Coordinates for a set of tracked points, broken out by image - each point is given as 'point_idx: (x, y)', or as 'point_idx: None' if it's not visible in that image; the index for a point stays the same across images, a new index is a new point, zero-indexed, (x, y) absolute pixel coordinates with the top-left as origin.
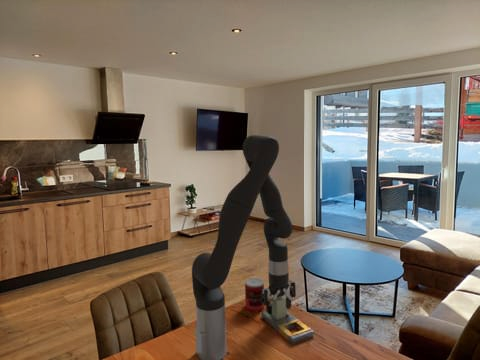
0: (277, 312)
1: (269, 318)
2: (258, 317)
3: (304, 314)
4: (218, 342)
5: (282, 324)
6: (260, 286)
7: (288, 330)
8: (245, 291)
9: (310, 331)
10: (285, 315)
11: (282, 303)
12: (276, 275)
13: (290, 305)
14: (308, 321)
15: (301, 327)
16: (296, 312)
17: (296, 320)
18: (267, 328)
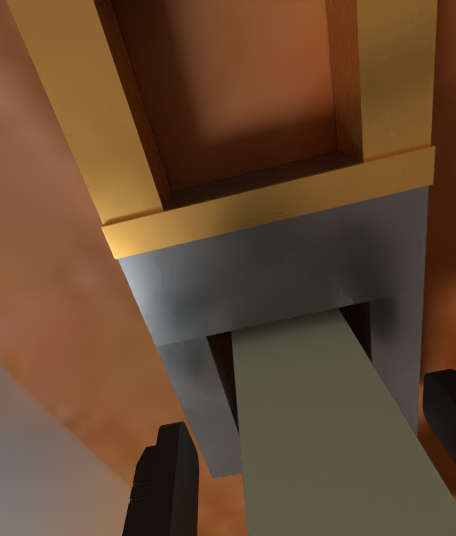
0: (376, 380)
1: (416, 346)
2: (419, 402)
3: (23, 364)
4: None
5: (363, 195)
6: None
7: (358, 20)
8: None
9: None
10: (238, 352)
11: (323, 520)
12: None
13: (146, 468)
14: (4, 256)
15: (122, 77)
16: (91, 401)
17: (146, 233)
18: (453, 248)
